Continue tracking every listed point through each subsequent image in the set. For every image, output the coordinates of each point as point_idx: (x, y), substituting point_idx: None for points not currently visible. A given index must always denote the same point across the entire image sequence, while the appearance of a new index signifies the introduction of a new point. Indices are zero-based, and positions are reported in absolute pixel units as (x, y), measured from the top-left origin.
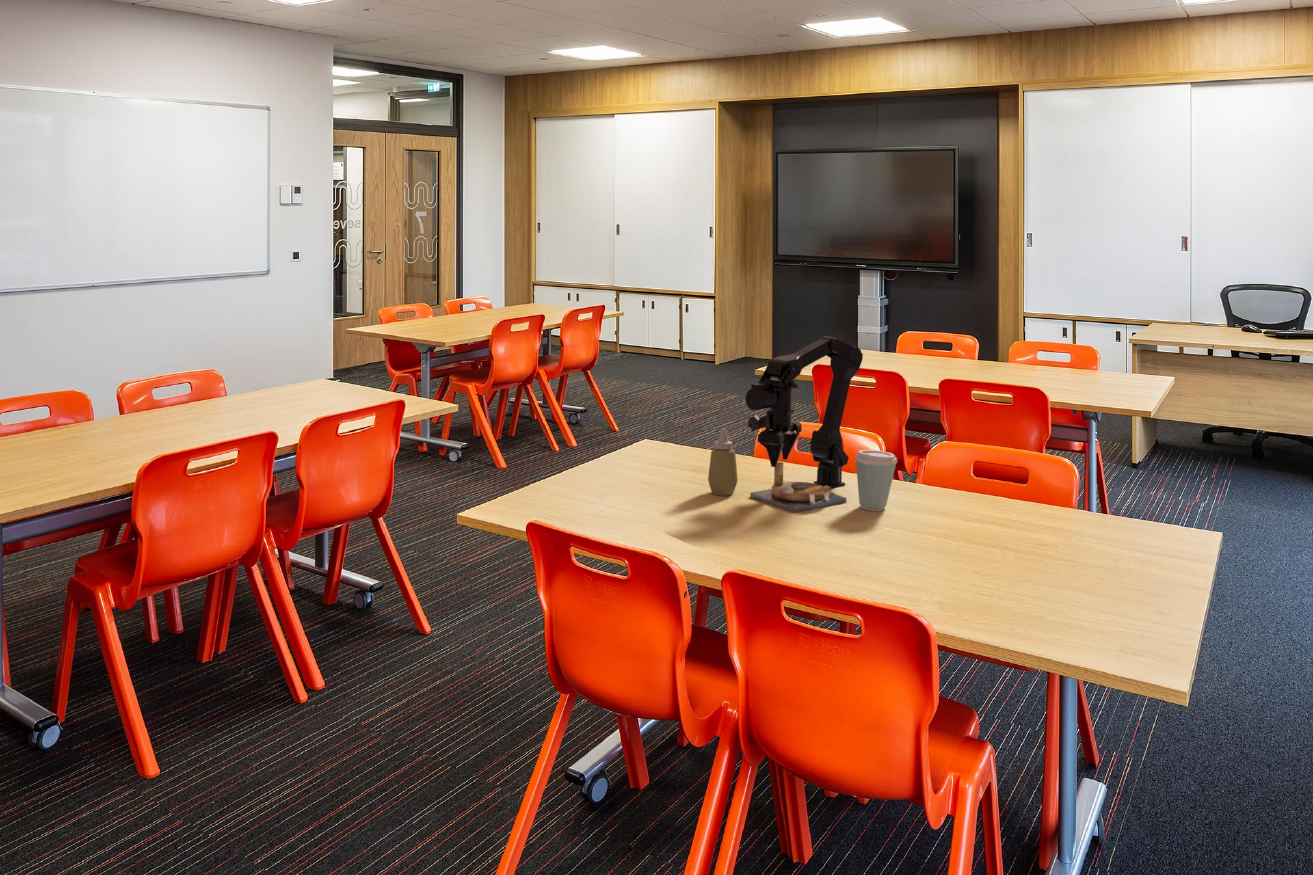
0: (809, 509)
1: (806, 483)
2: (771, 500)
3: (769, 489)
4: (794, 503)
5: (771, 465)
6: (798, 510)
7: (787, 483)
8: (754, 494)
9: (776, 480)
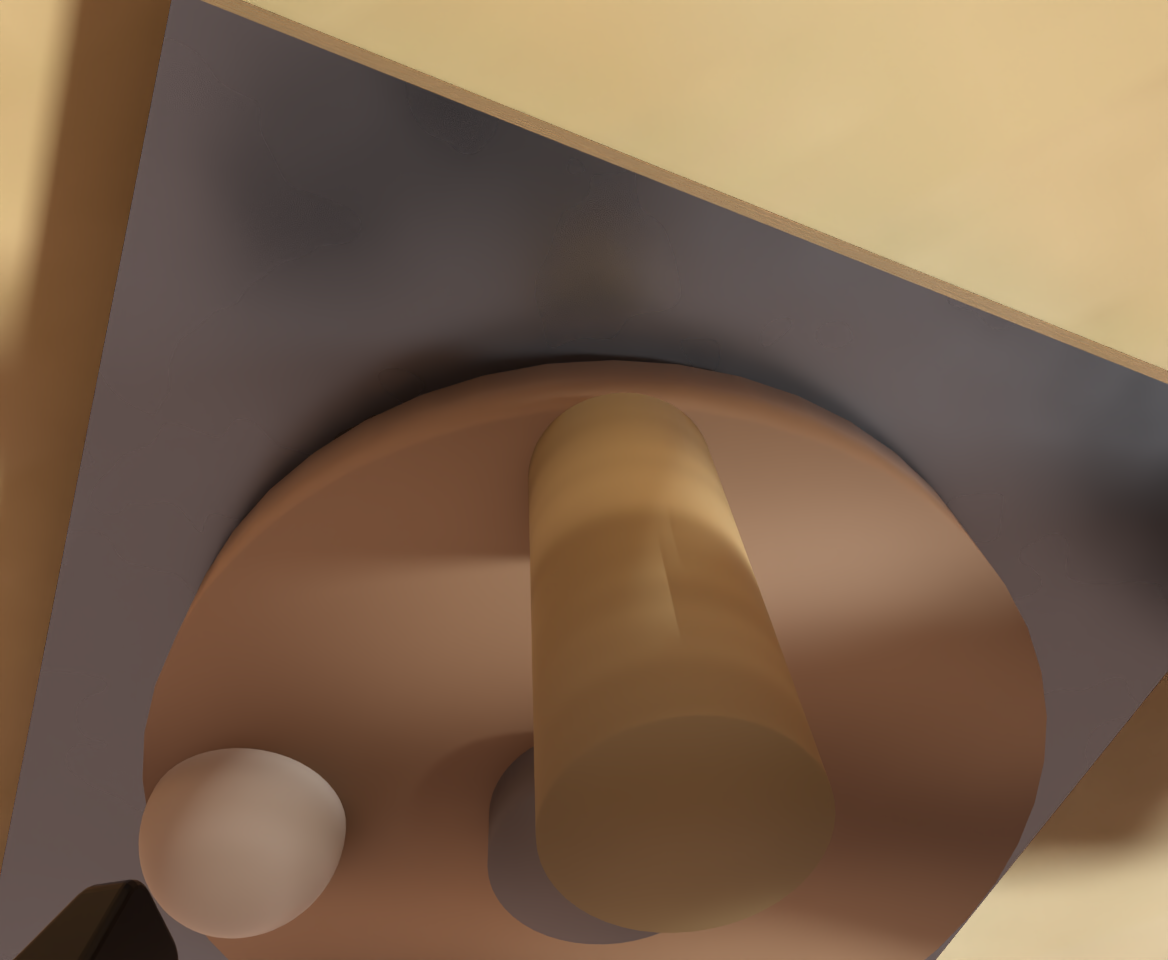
0: None
1: (967, 776)
2: (62, 570)
3: (655, 209)
4: None
5: (61, 921)
6: None
7: (813, 555)
8: (148, 131)
9: (530, 536)
